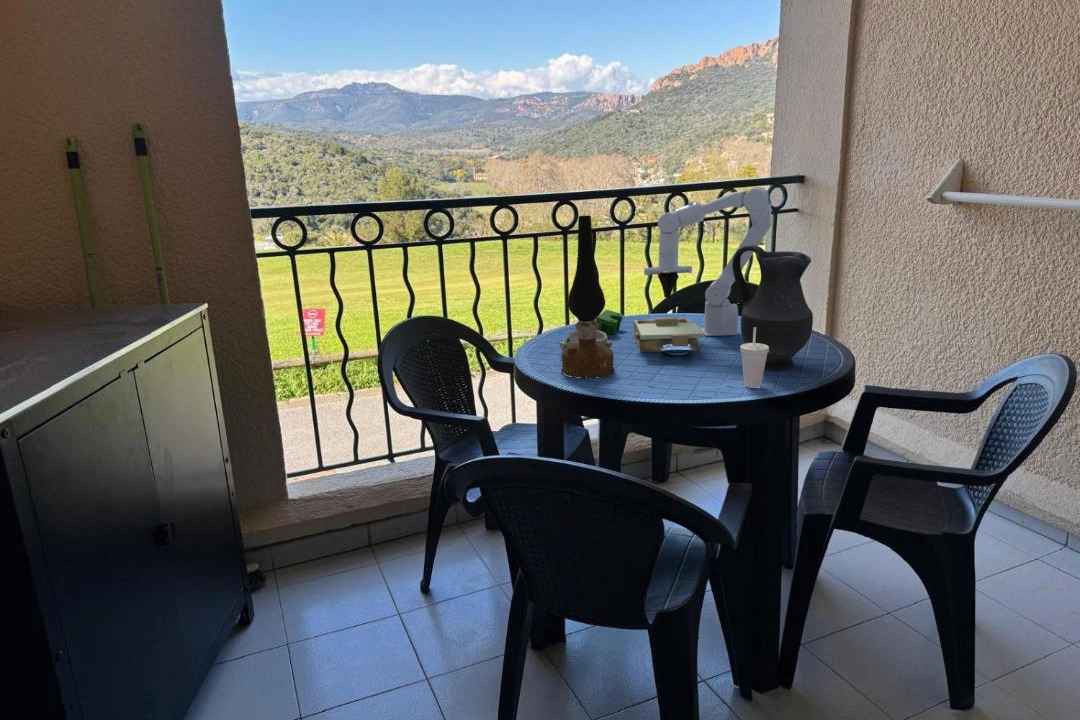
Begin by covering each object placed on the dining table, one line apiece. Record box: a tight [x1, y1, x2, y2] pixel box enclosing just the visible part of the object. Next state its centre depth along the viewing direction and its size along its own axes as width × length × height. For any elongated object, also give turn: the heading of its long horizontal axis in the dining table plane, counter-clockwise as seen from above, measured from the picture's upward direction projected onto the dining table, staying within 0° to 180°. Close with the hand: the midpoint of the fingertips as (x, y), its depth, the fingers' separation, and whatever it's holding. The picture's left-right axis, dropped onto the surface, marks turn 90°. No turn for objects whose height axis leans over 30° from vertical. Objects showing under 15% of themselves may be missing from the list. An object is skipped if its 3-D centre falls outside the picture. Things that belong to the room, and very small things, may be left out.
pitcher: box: [732, 245, 814, 371], centre depth 169 cm, size 17×21×30 cm
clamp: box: [595, 309, 624, 335], centre depth 210 cm, size 12×6×9 cm, turn 153°
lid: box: [636, 316, 705, 346], centre depth 186 cm, size 17×14×5 cm
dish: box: [559, 329, 613, 353], centre depth 190 cm, size 14×14×5 cm
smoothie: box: [739, 327, 769, 387], centre depth 156 cm, size 6×6×14 cm
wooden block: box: [634, 333, 641, 341], centre depth 189 cm, size 6×2×1 cm, turn 88°
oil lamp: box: [560, 215, 615, 378], centre depth 170 cm, size 14×15×40 cm
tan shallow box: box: [633, 318, 699, 353], centre depth 195 cm, size 16×17×5 cm
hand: (667, 297), depth 207 cm, fingers closed
